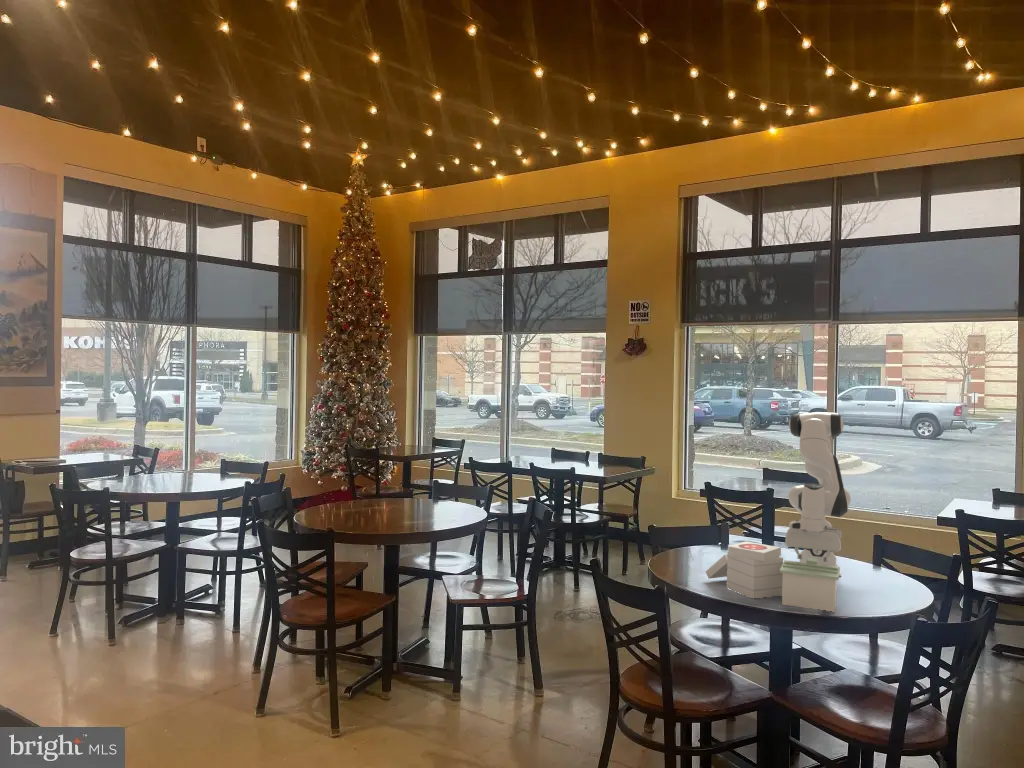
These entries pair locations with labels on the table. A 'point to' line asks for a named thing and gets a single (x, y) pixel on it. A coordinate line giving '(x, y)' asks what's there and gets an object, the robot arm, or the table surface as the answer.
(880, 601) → the table surface
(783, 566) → the lid
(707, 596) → the table surface
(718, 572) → the pizza boxes
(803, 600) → the tub
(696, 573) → the table surface
